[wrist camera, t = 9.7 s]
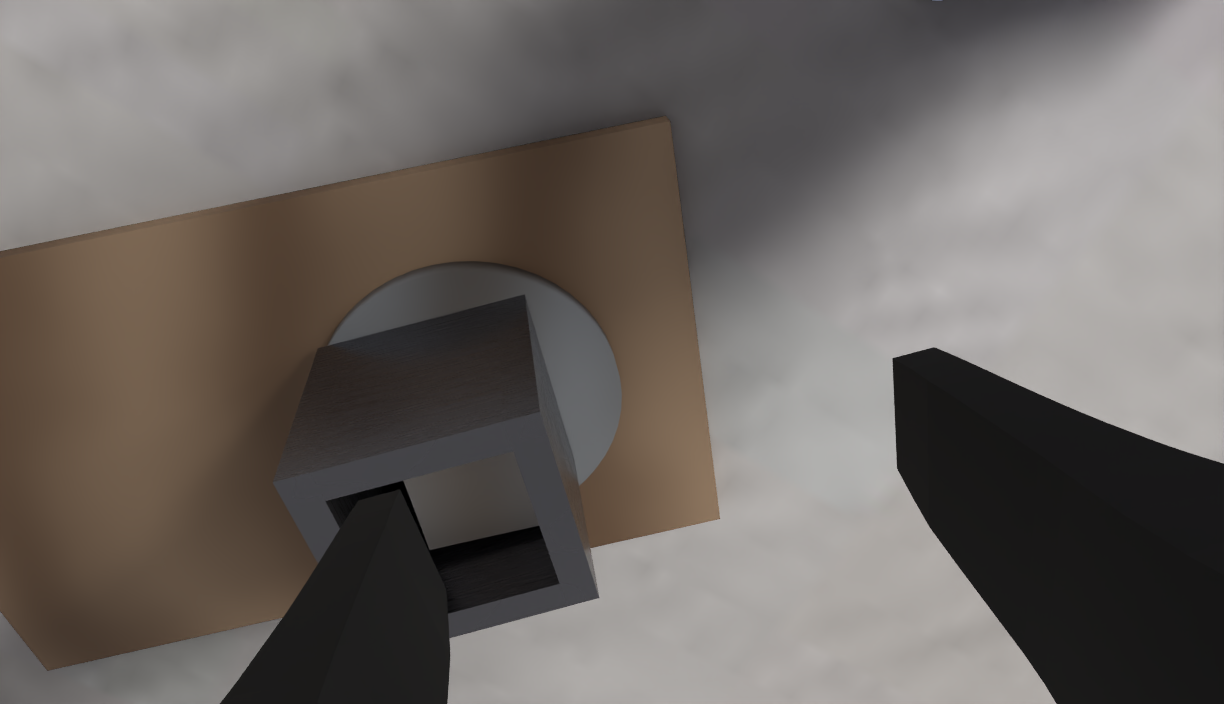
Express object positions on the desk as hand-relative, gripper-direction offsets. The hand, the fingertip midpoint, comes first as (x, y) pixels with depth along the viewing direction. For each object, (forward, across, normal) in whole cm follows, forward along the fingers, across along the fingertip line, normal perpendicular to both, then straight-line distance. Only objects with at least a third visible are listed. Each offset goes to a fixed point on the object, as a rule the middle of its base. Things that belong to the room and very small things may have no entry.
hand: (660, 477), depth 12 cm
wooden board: (+10, +8, +3) cm, 13 cm away
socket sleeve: (+8, +4, +3) cm, 10 cm away
